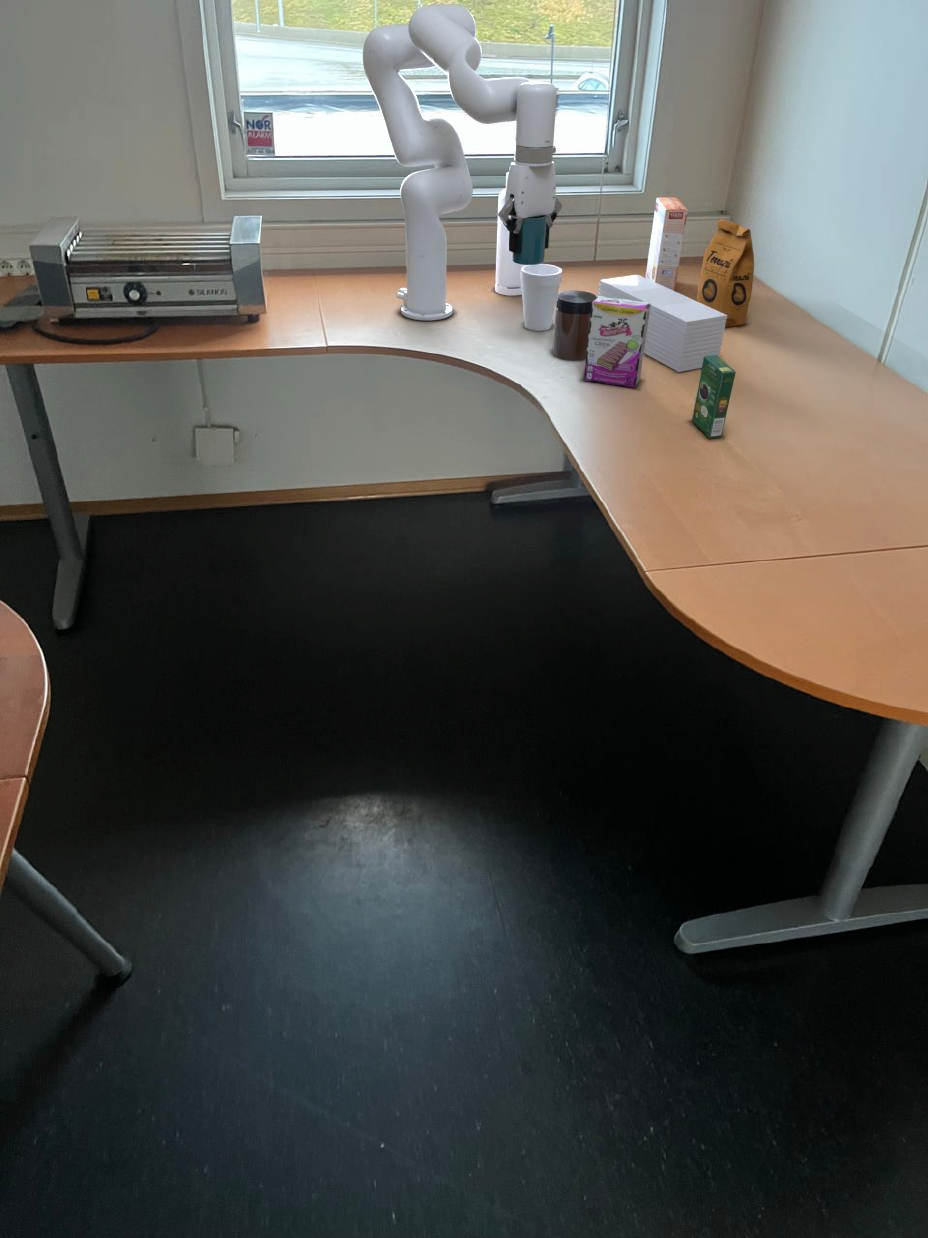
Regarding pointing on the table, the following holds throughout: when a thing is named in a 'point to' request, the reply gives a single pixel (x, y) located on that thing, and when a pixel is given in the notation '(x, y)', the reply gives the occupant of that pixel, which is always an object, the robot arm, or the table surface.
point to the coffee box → (713, 396)
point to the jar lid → (575, 301)
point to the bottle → (506, 258)
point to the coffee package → (728, 272)
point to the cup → (532, 241)
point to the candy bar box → (616, 341)
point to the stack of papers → (671, 322)
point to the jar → (571, 335)
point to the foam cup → (539, 294)
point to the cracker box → (666, 241)
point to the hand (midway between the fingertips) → (528, 248)
